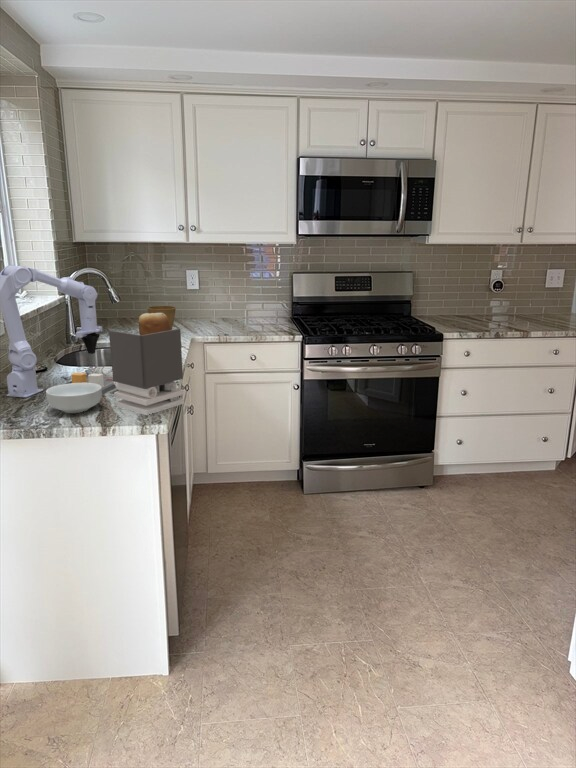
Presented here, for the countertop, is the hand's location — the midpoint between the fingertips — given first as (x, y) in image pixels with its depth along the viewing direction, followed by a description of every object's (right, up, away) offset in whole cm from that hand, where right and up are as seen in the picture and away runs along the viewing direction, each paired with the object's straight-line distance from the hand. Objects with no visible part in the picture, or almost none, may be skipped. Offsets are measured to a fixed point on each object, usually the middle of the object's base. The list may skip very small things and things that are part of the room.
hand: (91, 353), depth 215 cm
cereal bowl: (+7, -20, -33) cm, 40 cm away
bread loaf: (+23, -8, +9) cm, 26 cm away
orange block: (0, -13, -13) cm, 18 cm away
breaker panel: (+3, -13, -8) cm, 16 cm away
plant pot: (+7, +14, +91) cm, 93 cm away
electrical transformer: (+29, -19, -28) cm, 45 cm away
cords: (+4, -12, -5) cm, 14 cm away
